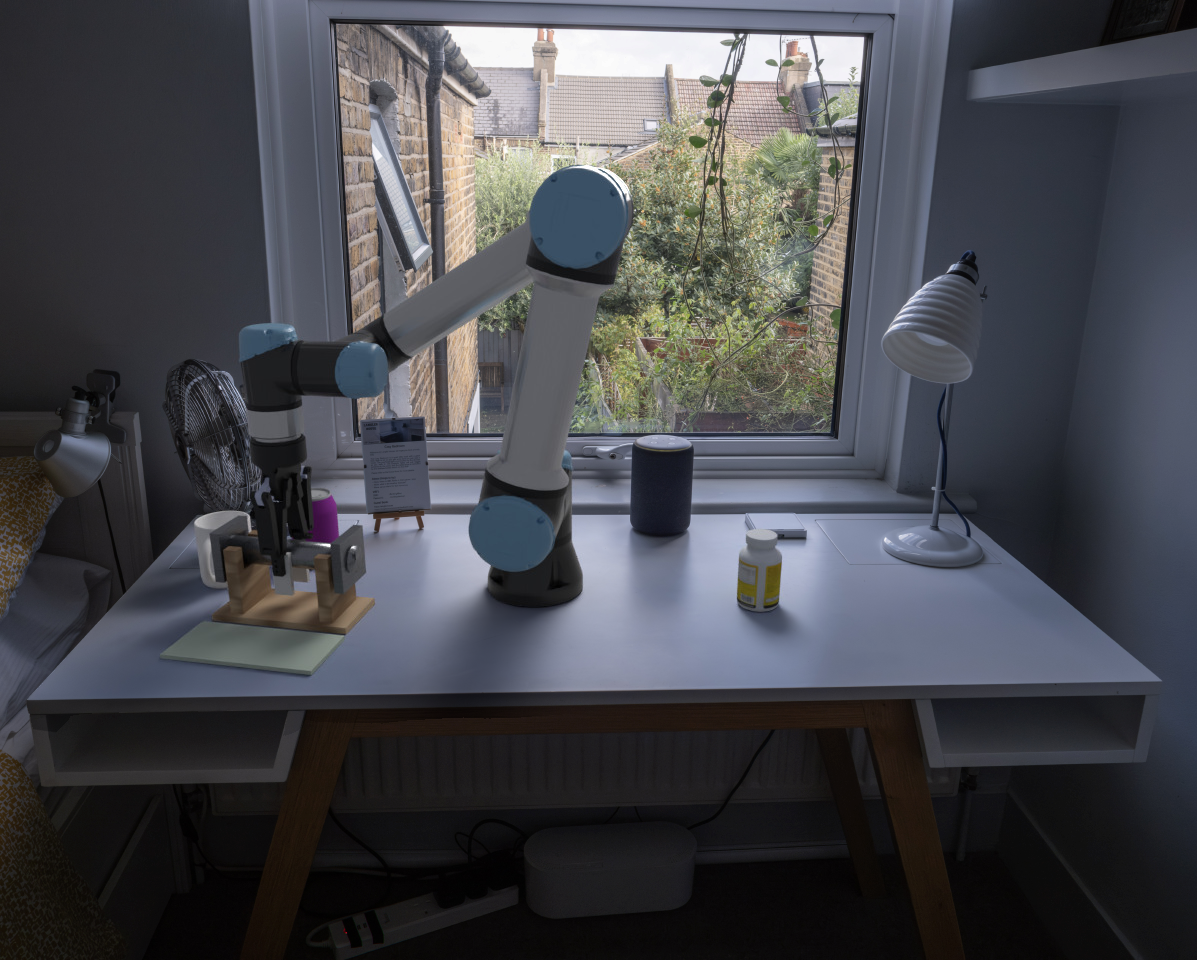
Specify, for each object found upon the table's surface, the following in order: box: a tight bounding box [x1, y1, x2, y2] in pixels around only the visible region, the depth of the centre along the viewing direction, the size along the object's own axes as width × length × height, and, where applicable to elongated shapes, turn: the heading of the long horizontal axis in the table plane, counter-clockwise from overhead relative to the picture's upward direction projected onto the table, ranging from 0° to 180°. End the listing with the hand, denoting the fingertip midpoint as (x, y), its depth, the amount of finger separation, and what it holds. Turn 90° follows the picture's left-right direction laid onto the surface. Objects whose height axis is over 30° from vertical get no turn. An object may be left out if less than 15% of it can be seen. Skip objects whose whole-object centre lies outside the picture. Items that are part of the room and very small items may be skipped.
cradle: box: [211, 529, 376, 635], centre depth 137 cm, size 21×10×11 cm, turn 79°
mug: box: [193, 510, 252, 590], centre depth 147 cm, size 12×8×10 cm
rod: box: [209, 515, 367, 594], centre depth 136 cm, size 21×8×8 cm, turn 79°
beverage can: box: [291, 487, 340, 543], centre depth 156 cm, size 8×8×12 cm
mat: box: [159, 620, 346, 676], centre depth 128 cm, size 22×10×1 cm, turn 79°
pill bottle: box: [736, 528, 783, 613], centre depth 141 cm, size 6×6×12 cm
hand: (292, 586), depth 138 cm, fingers closed on rod, 4 cm apart
